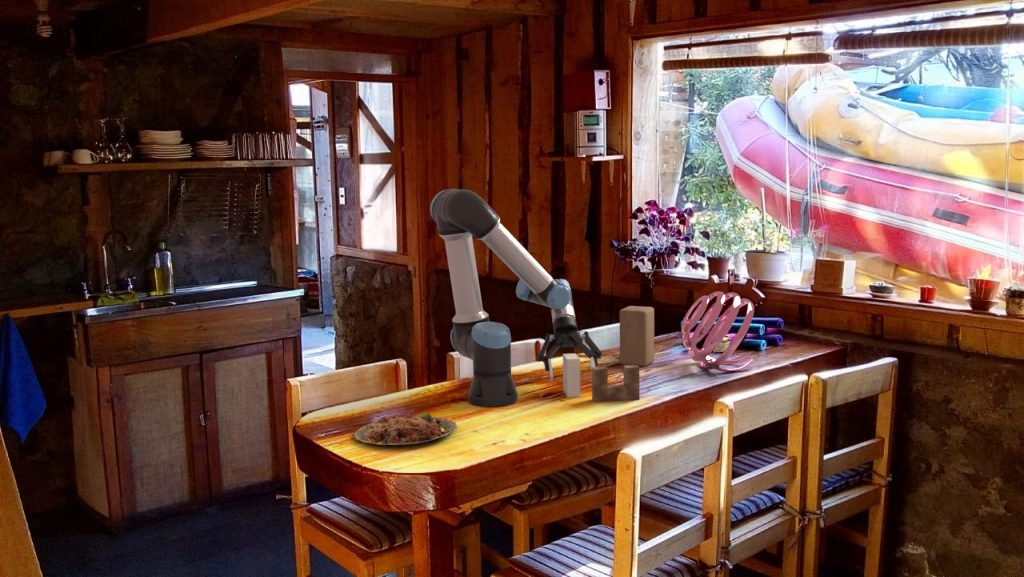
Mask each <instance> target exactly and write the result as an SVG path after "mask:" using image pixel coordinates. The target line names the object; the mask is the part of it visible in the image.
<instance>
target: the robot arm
mask: <svg viewBox="0 0 1024 577" xmlns="http://www.w3.org/2000/svg"><path fill="white" fill-rule="evenodd" d="M429 209H430V210H429V211H430V212H429V213H430V216H431V217H432V220H433V221H434V222H435V223H436V224H437V231H438V236H439V237H440V238H442V239H443V240H444V244H445V245H444V246H445V251H446V256H447V263H448V269H449V270H448V271H449V277H450V284H451V289H452V290H451V291H452V297H453V302H454V309H455V315H454V316H453V317H452V326H453V327H452V329H451V331H450V336H449V337H450V343H451V345H452V347H453V349H454V350H455V351H456V352H457V353H458V354H459V355H461V356H463V357H465V358H467V359H469V360H471V361H472V369H473V370H472V371H473V372H472V374H473V376H472V380H471V384H470V387H469V390H468V396H467V398H468V403H469V404H471V405H475V406H478V407H501V406H503V407H505V406H508V405H512V404H514V403H516V402H517V401H518V400H519V399H518V398H519V397H518V391H517V388H516V385H515V382H514V378H513V375H512V347H511V346H512V337H511V331H510V328H509V326H507V325H506V324H504V323H501V322H495V321H490V317H489V313H488V312H486V311H485V310H484V308H483V302H482V295H481V289H480V283H479V281H480V280H479V274H478V269H477V262H476V261H477V260H476V255H475V247H474V241H473V237H474V238H475V239H476V240H478V241H479V240H480V241H482V242H483V243H484V244H485V245H486V246H487V247H488V248H489V249H490V250H492V252H493V253H494V254H495V255H496V256H497V257H498V258H499V259H500V260H501V261H502V262H503V263H504V264H505V265H506V267H508V268H509V269H510V270H511V272H513V273H514V274H515V276H516V277H517V278H519V280H518V282H517V285H516V289H515V294H516V297H517V298H518V299H520V300H523V301H525V302H526V301H527V302H529V303H534V304H537V305H541V306H544V307H548V308H550V312H551V317H552V318H551V319H552V326H553V332H554V334H550V332H546V333H545V337H544V338H545V339H544V340H545V341H544V342H543V345H542V347H541V349H540V352H539V353H538V357H537V361H538V363H539V362H542V363H543V365H544V371H545V372H548V376H549V382H553V380H554V374H553V373H554V371H553V366H552V365H553V364H552V357H553V356H554V355H555V354H556V353H557V352H558V350H559V349H560V348H565V349H566V348H573V347H575V348H576V349H577V350H579V351H580V352H582V353H583V354H584V355H585V356H586V357H588V358H589V359H590V361H589V363H590V370H591V371H592V367H599V363H598V362H599V361H598V360H601V358H602V355H603V353H602V351H601V349H599V347H598V346H597V345H596V343H595V342H594V341H593V339H592V338H591V336H590V334H589V332H588V331H587V330H585V331H584V333H579V330H578V325H577V321H576V314H575V309H574V301H573V294H572V290H571V287H570V286H571V285H570V283H569V281H567V279H563V278H559V279H558V278H556V279H554V278H553V276H551V274H549V273H548V271H546V269H544V267H543V266H542V265H541V264H540V263H539V262H538V261H537V259H535V257H533V256H532V255H531V254H530V252H529V251H528V250H527V249H526V248H525V247H524V246H523V245H522V244H521V243H520V242H519V241H518V239H516V238H515V237H514V235H513V234H512V233H511V232H510V231H509V230H508V229H507V228H506V227H505V226H504V225H503V224H502V223H501V218H500V216H499V214H498V213H496V211H495V210H494V209H492V207H491V206H490V205H489V204H488V203H487V202H486V201H485V200H484V199H483V198H482V197H481V196H480V195H478V194H477V193H476V192H474V191H472V190H470V189H460V188H459V189H458V188H448V189H443V190H441V191H439V192H438V193H437V194H436V195H435V196H434V197H433V199H432V201H431V202H430V207H429ZM553 340H554V342H555V343H554V344H553V346H552V347H551V348H550V350H549V351H548V352H547V353H546V351H547V349H548V347H549V345H550V343H551V342H552V341H553ZM582 341H584V343H585V344H586V345H585V344H584V343H583V342H582ZM545 354H546V355H545Z"/></svg>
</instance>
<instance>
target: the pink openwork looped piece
mask: <svg viewBox="0 0 1024 577" xmlns="http://www.w3.org/2000/svg"><path fill="white" fill-rule="evenodd" d="M714 297H716V301H715V302H714V303H713V304H712V305H711V307H709V309H708V310H707V312H705V311H706V309H707V307H708V304H709V302H710V301H712V299H713V298H714ZM730 298H732V300H733V301H732V304H731V305H730V306H729V307H728V308H727V309H726V310H725V311H724V312H723V313H722V314H721V311H722V309H723V306H724V304H725V302H726V301H727V300H729V299H730ZM700 302H701V303H700ZM699 303H700V304H699ZM698 304H699V305H698ZM697 305H698V306H697ZM745 305H747V309H746V310H747V311H746V314H745V317H744V319H743V322H742V324H741V326H740V328H739V330H737V333H736V335H735V336H734V337H733V339H732V341H730V343H729V346H728V347H727V349H726V350H725V351H724V352H723V353H720V355H719V356H717V358H715V357H712V356H710V354H712V353H713V352H712V351H713V350H714V349H715V348H716V347H717V346H718V345H719V344H720V342H721V341H722V340H723V338H724V337H726V335H727V334H728V333H729V331H730V329H731V328H732V326H733V324H734V323H735V321H736V318H737V317H738V316H737V315H738V314H739V311H740V308H741V307H743V306H745ZM696 307H697V308H696ZM694 309H695V311H694V312H693V310H694ZM692 312H693V313H692ZM691 313H692V315H691ZM704 313H705V314H704ZM720 314H721V315H720ZM754 314H755V305H754V304H753V302H752V301H751V300H750V299H748V298H744V297H743V298H741V296H740V295H739V294H738V293H736V292H728V293H724V292H723V291H714V292H712V293H710V294H709V295H703V296H701V297H699V298H698V299H696V300H695V302H694V303H693V304H692V305H691V306H690V308H689V309H688V311H687V312H686V314H685V316H684V317H683V320H682V322H681V334H682V335H681V336H682V344H683V346H684V347H685V348H686V349H688V355H689V357H690V358H691V360H693V361H694V362H699V365H700V366H701V367H702V368H703V369H705V370H707V371H712V370H713V371H718V372H723V373H732V372H731V371H735V372H738V370H739V371H741V369H742V370H743V369H745V368H747V367H748V366H749V365H750V364H752V363H753V361H754V359H753V358H752V359H751V357H750V356H748V357H745V358H741V359H736V360H727V359H729V357H730V356H731V355H732V354H733V353H734V352H735V351H736V349H737V347H738V346H739V345H740V344H741V343H742V340H743V339H744V337H745V336H746V334H747V332H748V330H749V329H750V326H751V323H752V321H753V317H754ZM690 315H691V316H690ZM703 315H704V316H703ZM719 315H720V317H719ZM689 316H690V318H689ZM718 317H719V319H718ZM701 318H702V319H701ZM700 319H701V320H700ZM717 319H718V320H717ZM698 322H699V323H698ZM697 323H698V324H697ZM696 325H697V326H696ZM713 325H714V326H713ZM695 326H696V328H695V330H694V332H693V333H692V334H693V335H692V336H691V330H692V329H693V328H694V327H695ZM708 332H709V333H708ZM706 334H708V335H707V337H706V339H705V341H704V343H703V345H702V347H701V350H699V349H698V348H697V344H698V343H699V342H701V340H702V339H703V338H704V337H705V336H706ZM748 360H749V361H748ZM746 361H747V363H745V364H744V365H742V366H739V367H737V368H725V367H721V365H722V364H731V365H737V364H741V363H744V362H746Z"/></svg>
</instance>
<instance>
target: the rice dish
mask: <svg viewBox="0 0 1024 577" xmlns="http://www.w3.org/2000/svg"><path fill="white" fill-rule="evenodd" d="M457 428H458V425H457V423H456V422H455V421H452V420H451V419H448V418H446V417H445V418H442V417H437V416H436V417H435V416H432V415H431V414H430V413H429V412H427V411H425V412H422V413H420V414H418V413H416V414H413V415H411V414H409V413H407V414H399V415H397V414H396V415H393V416H392V415H391V416H388V417H387V416H382V418H380V419H377V420H375V421H373V422H371V423H369V424H365V425H363V426H361V427H359V428H358V429H356V430H355V431H354V433H353V434H352V436H353V438H354V439H355V440H357V441H360V442H363V443H365V444H367V443H368V444H372V445H377V446H389V445H391V446H411V445H417V444H424V443H427V442H431V441H434V440H437V439H440V438H444V437H446V436H449V435H450V434H452V433H453V432H455V431H456V430H457Z"/></svg>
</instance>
